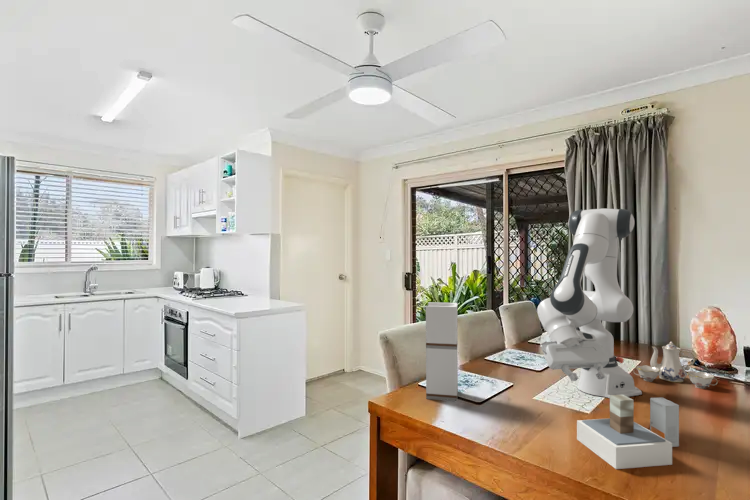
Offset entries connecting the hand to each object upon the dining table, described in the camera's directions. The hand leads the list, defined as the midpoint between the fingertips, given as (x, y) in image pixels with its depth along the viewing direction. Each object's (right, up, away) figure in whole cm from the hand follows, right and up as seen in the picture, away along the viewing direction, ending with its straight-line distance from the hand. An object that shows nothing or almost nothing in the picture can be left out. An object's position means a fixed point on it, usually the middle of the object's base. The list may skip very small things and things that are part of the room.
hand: (588, 379), depth 122 cm
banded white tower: (-39, -17, +32) cm, 54 cm away
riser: (+3, -17, -11) cm, 20 cm away
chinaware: (+60, -16, +46) cm, 77 cm away
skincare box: (+19, -17, -6) cm, 26 cm away
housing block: (+3, -11, -11) cm, 15 cm away
